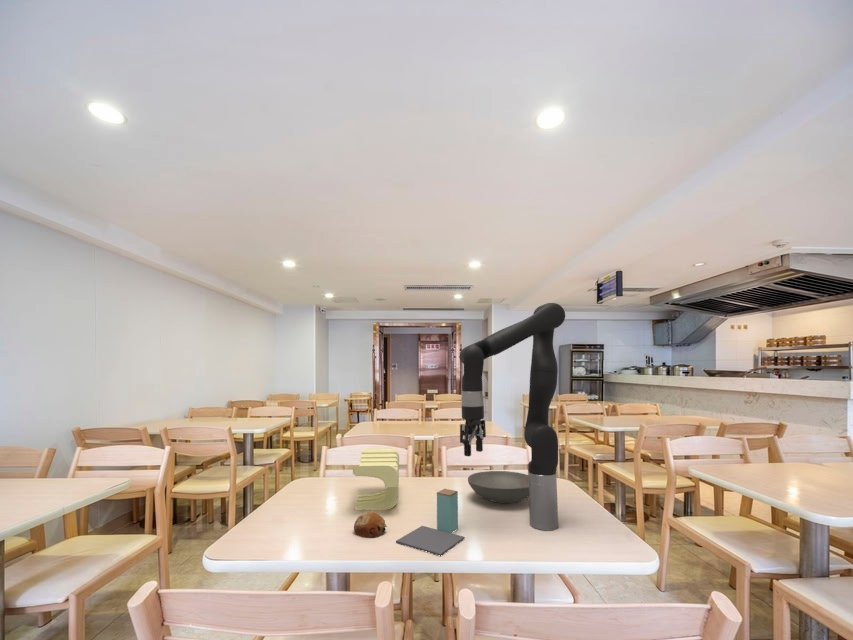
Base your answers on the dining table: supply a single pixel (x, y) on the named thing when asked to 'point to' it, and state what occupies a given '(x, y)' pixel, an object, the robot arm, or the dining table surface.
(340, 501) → the dining table surface
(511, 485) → the bowl
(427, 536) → the mat
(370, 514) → the bread roll
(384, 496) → the slatted curved stool
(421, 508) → the dining table surface
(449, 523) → the teal block
